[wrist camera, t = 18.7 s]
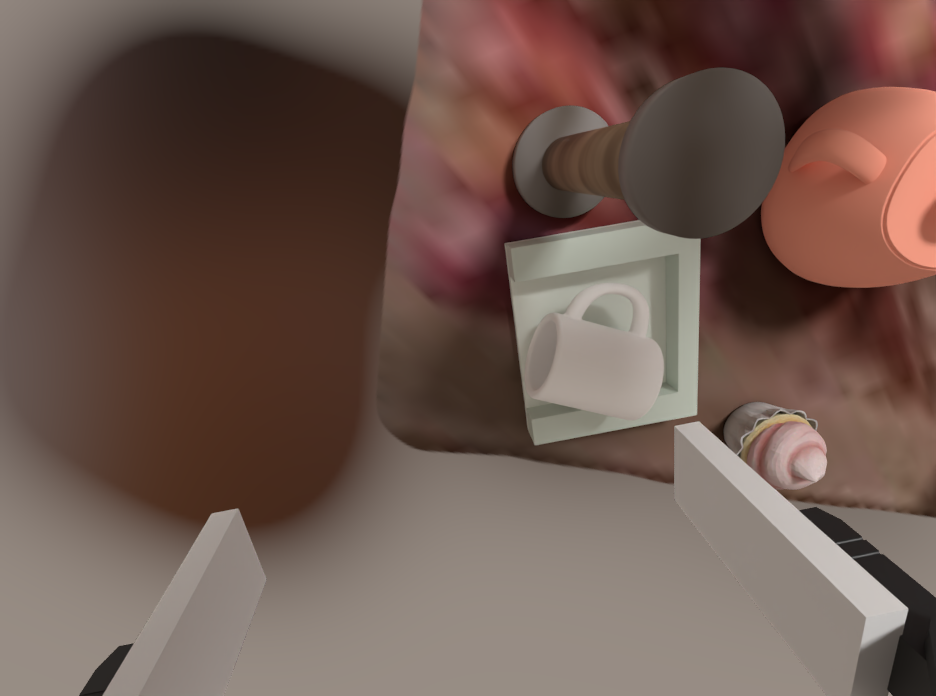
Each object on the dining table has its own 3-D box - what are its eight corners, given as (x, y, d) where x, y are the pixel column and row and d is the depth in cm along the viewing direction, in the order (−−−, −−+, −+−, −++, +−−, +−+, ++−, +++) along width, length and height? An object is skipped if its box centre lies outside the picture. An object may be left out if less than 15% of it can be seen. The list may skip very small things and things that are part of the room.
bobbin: (609, 100, 41) (817, 23, 20) (613, 207, 44) (797, 242, 23) (506, 116, 41) (603, 57, 19) (518, 224, 44) (613, 275, 23)
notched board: (681, 212, 45) (701, 215, 42) (680, 400, 52) (697, 414, 49) (504, 243, 45) (510, 248, 41) (527, 429, 52) (534, 445, 49)
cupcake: (694, 451, 55) (750, 508, 46) (734, 379, 52) (804, 424, 43) (760, 469, 57) (828, 528, 47) (803, 401, 54) (884, 450, 45)
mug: (607, 401, 50) (643, 435, 42) (517, 380, 48) (538, 412, 40) (648, 290, 47) (695, 305, 40) (555, 263, 45) (585, 273, 38)
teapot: (992, 154, 46) (1205, 149, 34) (888, 314, 51) (1041, 360, 39) (783, 47, 41) (944, -6, 29) (691, 236, 46) (793, 260, 34)
